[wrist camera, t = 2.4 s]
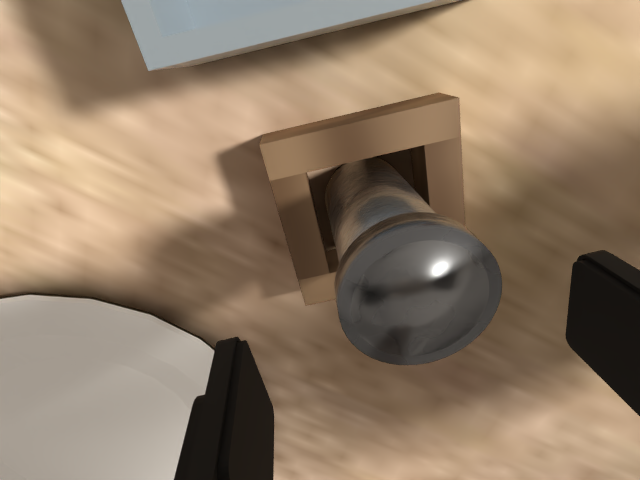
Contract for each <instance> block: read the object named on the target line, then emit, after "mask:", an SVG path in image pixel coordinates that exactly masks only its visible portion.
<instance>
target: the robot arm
mask: <svg viewBox="0 0 640 480" xmlns="http://www.w3.org/2000/svg"><path fill="white" fill-rule="evenodd" d="M566 340H567V342H568V344H569V346H570V347H571V348H572V349H573V350H574V351H575V352H576V353H577V354H578V355H579V356H580V357H581V358H582V359H583V360H584V361H585V362H586V363H587V364H588V365H589V366H590V367H591V368H592V369H593V370H594V371H595V372H596V373H597V374H598V375H599V376H600V377H601V378H602V379H603V380H604V381H605V382H606V383H607V384H608V385H609V386H610V387H611V388H612V389H613V390H614V391H615V392H616V393H617V394H618V395H619V396H620V397H621V398H622V399H623V400H624V401H625V402H626V403H627V404H628V405H629V406H630V407H631V408H632V409H633V410H634V411H635V412H636V413H637V414H638V415H639V416H640V270H638V269H636V268H635V267H633V266H631V265H630V264H628V263H626V262H624V261H623V260H621V259H619V258H618V257H616V256H614V255H613V254H611V253H609V252H607V251H605V250H600V251H596V252H592V253H588V254H584V255H581V256H579V257H578V259H577V262H575V263H574V264H573V267H572V277H571V287H570V297H569V306H568V316H567V326H566ZM273 464H274V411H273V406H272V403H271V401H270V398H269V396H268V393H267V391H266V388H265V386H264V383H263V381H262V378H261V375H260V373H259V370H258V368H257V365H256V363H255V360H254V358H253V355H252V353H251V350H250V348H249V345H248V343H247V341H246V340H244V341H240V339H239V338H238V337H234V338H230V339H226V340H221V341H218V342H217V343H216V347H215V351H214V356H213V360H212V365H211V369H210V374H209V378H208V383H207V387H206V392H205V394H204V395H200V396H197V397H196V398H195V399H194V402H193V405H192V409H191V413H190V417H189V421H188V425H187V429H186V433H185V437H184V441H183V445H182V449H181V453H180V457H179V461H178V465H177V469H176V473H175V477H174V480H273Z"/></svg>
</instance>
